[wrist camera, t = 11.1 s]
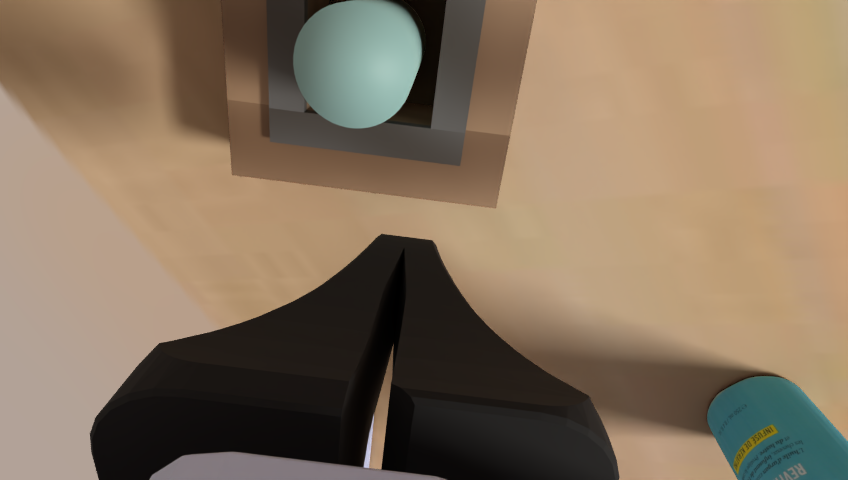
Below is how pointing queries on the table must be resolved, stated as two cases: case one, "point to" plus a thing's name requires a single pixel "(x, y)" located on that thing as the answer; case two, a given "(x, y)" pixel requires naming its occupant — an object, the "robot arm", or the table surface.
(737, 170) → the table surface
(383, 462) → the robot arm
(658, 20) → the table surface
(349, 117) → the peg
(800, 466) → the tube
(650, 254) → the table surface
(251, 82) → the socket
